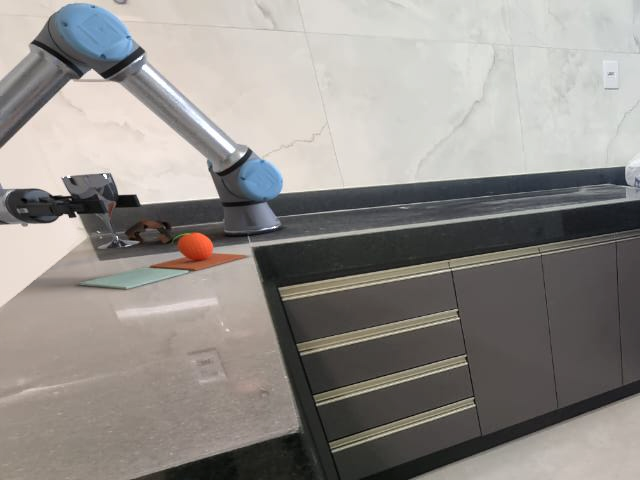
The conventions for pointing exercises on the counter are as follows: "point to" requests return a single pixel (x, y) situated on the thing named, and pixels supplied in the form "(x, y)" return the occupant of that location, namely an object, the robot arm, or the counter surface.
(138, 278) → the glass mat
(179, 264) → the fruit mat
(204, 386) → the counter surface
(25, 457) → the counter surface
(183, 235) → the clementine
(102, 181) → the wine glass
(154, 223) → the brown segmented ring
